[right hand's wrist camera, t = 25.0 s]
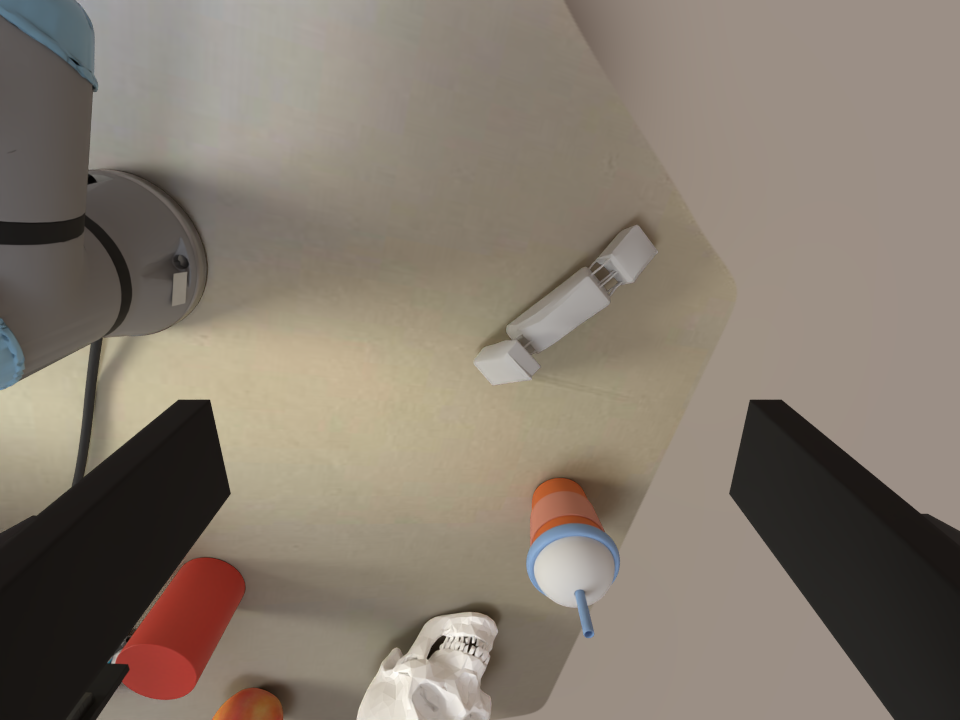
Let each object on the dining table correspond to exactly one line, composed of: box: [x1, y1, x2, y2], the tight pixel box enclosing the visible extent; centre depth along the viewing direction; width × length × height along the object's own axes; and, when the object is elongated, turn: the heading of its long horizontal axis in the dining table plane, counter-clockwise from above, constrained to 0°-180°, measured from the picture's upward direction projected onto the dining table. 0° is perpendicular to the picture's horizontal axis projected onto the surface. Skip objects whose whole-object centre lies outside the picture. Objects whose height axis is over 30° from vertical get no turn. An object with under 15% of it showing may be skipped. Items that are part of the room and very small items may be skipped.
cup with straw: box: [526, 478, 620, 638], centre depth 51 cm, size 9×9×18 cm
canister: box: [115, 558, 245, 700], centre depth 59 cm, size 8×8×12 cm
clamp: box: [474, 225, 658, 385], centre depth 48 cm, size 20×4×7 cm, turn 132°
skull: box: [357, 612, 498, 720], centre depth 62 cm, size 13×22×16 cm, turn 143°
